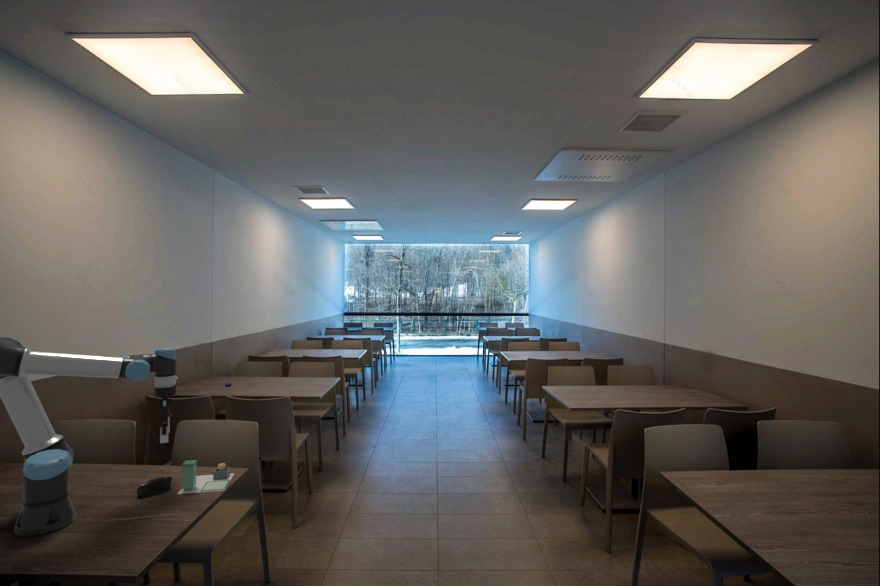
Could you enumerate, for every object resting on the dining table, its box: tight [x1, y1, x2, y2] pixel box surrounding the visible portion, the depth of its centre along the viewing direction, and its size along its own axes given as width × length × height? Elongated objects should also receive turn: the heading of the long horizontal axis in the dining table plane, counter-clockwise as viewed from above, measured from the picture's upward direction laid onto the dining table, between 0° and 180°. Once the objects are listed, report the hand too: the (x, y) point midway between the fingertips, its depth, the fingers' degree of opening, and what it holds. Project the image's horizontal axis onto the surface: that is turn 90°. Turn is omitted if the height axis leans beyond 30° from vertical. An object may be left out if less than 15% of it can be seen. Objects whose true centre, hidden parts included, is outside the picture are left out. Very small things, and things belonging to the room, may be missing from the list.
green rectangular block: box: [181, 459, 198, 491], centre depth 174 cm, size 4×4×11 cm
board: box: [177, 472, 235, 495], centre depth 180 cm, size 17×17×1 cm
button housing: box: [212, 466, 231, 480], centre depth 186 cm, size 5×5×3 cm
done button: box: [217, 462, 227, 471], centre depth 186 cm, size 3×3×3 cm
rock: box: [136, 476, 173, 499], centre depth 171 cm, size 10×9×6 cm
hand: (165, 437), depth 178 cm, fingers open, 13 cm apart
